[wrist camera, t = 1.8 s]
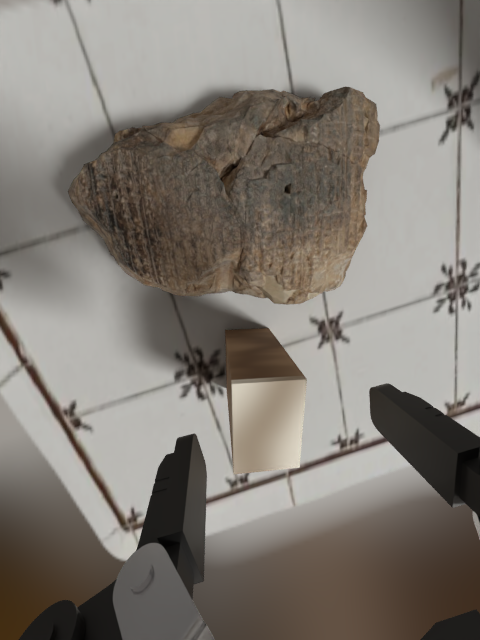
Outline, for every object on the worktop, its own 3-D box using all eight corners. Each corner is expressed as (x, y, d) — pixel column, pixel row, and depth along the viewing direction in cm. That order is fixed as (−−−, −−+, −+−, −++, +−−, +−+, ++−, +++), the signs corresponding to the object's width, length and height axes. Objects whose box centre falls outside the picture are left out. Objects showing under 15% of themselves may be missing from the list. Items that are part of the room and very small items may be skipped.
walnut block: (268, 328, 20) (306, 379, 12) (266, 385, 22) (299, 467, 13) (225, 329, 20) (231, 384, 11) (226, 388, 22) (233, 474, 13)
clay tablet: (111, 302, 19) (339, 297, 20) (75, 315, 14) (375, 308, 16) (81, 100, 15) (358, 114, 17) (18, 27, 11) (411, 56, 12)
